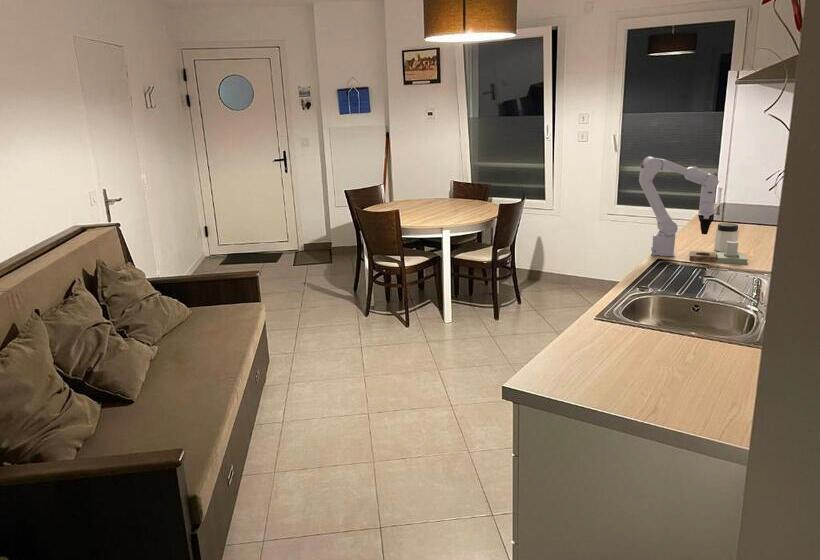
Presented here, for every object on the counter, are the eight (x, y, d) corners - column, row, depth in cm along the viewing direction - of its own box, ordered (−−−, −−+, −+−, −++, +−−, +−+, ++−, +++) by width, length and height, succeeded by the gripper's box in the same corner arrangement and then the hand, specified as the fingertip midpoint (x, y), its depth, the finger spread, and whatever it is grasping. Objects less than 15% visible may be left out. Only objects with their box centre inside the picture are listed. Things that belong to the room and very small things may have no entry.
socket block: (689, 260, 261) (690, 255, 260) (689, 255, 270) (689, 250, 269) (715, 262, 257) (716, 257, 257) (714, 256, 266) (715, 252, 265)
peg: (725, 261, 258) (727, 242, 256) (724, 258, 262) (726, 240, 260) (736, 261, 257) (738, 243, 255) (735, 259, 260) (737, 241, 258)
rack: (717, 262, 256) (717, 257, 256) (715, 256, 266) (716, 252, 266) (746, 264, 252) (747, 259, 252) (744, 258, 262) (744, 253, 262)
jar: (739, 252, 272) (742, 226, 269) (721, 253, 272) (724, 226, 269) (728, 248, 281) (731, 222, 278) (711, 248, 281) (714, 223, 278)
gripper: (718, 204, 256) (715, 236, 260) (716, 199, 269) (713, 229, 273) (699, 203, 259) (696, 235, 263) (698, 199, 272) (695, 229, 275)
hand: (703, 232), depth 268 cm, fingers open, 7 cm apart
